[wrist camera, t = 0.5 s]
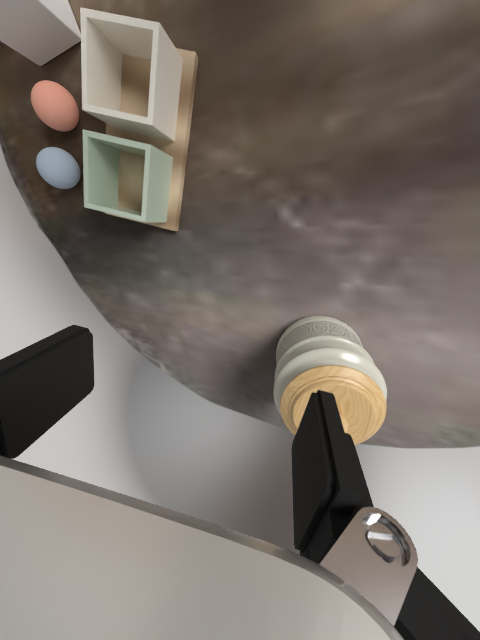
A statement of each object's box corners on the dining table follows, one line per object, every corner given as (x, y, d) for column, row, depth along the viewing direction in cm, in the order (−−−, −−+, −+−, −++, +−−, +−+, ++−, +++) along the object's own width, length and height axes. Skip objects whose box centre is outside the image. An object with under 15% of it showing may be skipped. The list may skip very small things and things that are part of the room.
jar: (307, 297, 38) (323, 352, 22) (377, 341, 39) (443, 427, 23) (261, 358, 44) (247, 440, 27) (324, 397, 44) (347, 499, 28)
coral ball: (53, 88, 34) (17, 67, 29) (87, 95, 34) (56, 75, 29) (55, 132, 36) (22, 119, 31) (88, 139, 36) (59, 127, 31)
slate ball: (56, 148, 37) (23, 138, 32) (88, 156, 36) (59, 146, 32) (58, 186, 39) (28, 182, 34) (88, 194, 38) (62, 190, 34)
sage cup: (115, 144, 34) (82, 129, 29) (173, 157, 34) (150, 144, 28) (113, 209, 37) (84, 207, 32) (166, 222, 37) (145, 222, 31)
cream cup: (117, 46, 30) (80, 7, 25) (182, 59, 30) (159, 22, 24) (115, 128, 33) (82, 109, 28) (174, 141, 33) (152, 125, 27)
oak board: (113, 40, 31) (107, 34, 30) (198, 58, 30) (195, 51, 29) (110, 213, 39) (104, 213, 38) (178, 230, 38) (174, 231, 37)
